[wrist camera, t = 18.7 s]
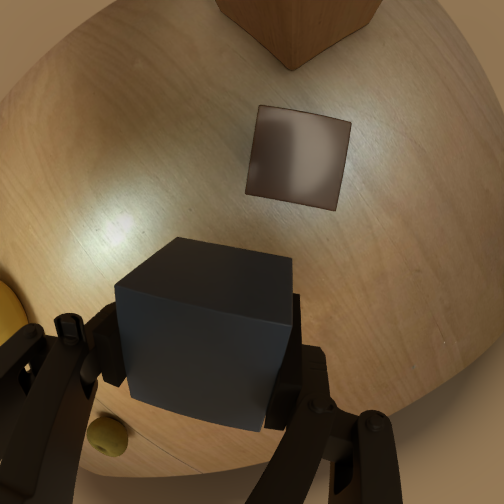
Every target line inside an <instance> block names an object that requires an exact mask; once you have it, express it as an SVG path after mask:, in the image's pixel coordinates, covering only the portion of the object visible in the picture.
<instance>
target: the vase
mask: <svg viewBox="0 0 504 504" xmlns="http://www.w3.org/2000/svg"><path fill="white" fill-rule="evenodd" d="M27 324H28V320H27V316H26V314H25V311H24V309H23V307H22V305H21V303H20V301H19V299H18V298H17V296H16V295H15V293H14V292H13V291H12V290H11V289H10V288H9V287H8V286H7V285H6V284H4V283H3V282H2V281H0V346H1V345H2V344H3V343H5V342H6V341H7V340H8V339H9V338H10V337H11V336H12V335H13V334H15V333H16V332H17V331H18V330H19V329H20V328H21V327H23V326H24V325H27Z"/></svg>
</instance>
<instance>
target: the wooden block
mask: <svg viewBox="0 0 504 504" xmlns="http://www.w3.org/2000/svg"><path fill="white" fill-rule="evenodd" d="M215 1H216V3H217V5H218V7H219V9H220V11H221V12H223V13H224V14H225V15H227V16H228V17H229V18H231V19H232V20H233V21H235V22H236V23H237V24H238V25H240V26H241V27H242V28H243V29H245V30H246V31H247V32H248V33H249V34H251V35H252V36H253V37H254V38H255V39H256V40H258V41H259V42H260V43H261V44H262V45H263V46H264V47H266V48H267V49H268V50H269V51H270V52H271V53H272V54H273V55H274V56H275V57H276V58H278V59H279V60H280V61H281V62H282V63H283V64H284V65H285V66H286V67H287V68H288V69H291V70H294V69H297V68H298V67H300V66H301V65H302V64H304V63H305V62H307V61H308V60H310V59H311V58H313V57H314V56H316V55H317V54H319V53H320V52H322V51H323V50H325V49H326V48H328V47H330V46H331V45H333V44H334V43H336V42H338V41H339V40H341V39H342V38H344V37H346V36H347V35H349V34H351V33H353V32H354V31H356V30H358V29H360V28H361V27H363V26H365V25H367V24H368V23H369V22H370V20H371V18H372V17H373V15H374V13H375V12H376V10H377V8H378V7H379V5H380V4H381V2H382V0H215Z"/></svg>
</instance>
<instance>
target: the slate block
mask: <svg viewBox="0 0 504 504" xmlns="http://www.w3.org/2000/svg"><path fill="white" fill-rule="evenodd" d="M114 288H115V300H116V310H117V319H118V326H119V333H120V340H121V347H122V353H123V359H124V364H125V370H126V375H127V381H128V386H129V390H130V395H131V397H132V398H134V399H136V400H139V401H142V402H144V403H147V404H150V405H153V406H156V407H159V408H162V409H165V410H168V411H171V412H174V413H178V414H181V415H184V416H188V417H191V418H195V419H199V420H203V421H207V422H211V423H215V424H219V425H224V426H228V427H233V428H238V429H243V430H249V431H254V432H260V430H261V427H262V424H263V421H264V418H265V415H266V412H267V409H268V406H269V403H270V399H271V396H272V393H273V390H274V387H275V384H276V380H277V377H278V374H279V371H280V367H281V365H282V361H283V358H284V355H285V351H286V348H287V344H288V341H289V337H290V334H291V330H292V326H293V270H292V258H289V257H284V256H278V255H273V254H267V253H262V252H257V251H251V250H246V249H241V248H235V247H230V246H225V245H219V244H214V243H208V242H203V241H198V240H192V239H187V238H181V237H176V238H175V239H174V240H172V241H171V242H170V243H168V244H167V245H165V246H164V247H163V248H161V249H160V250H159V251H157V252H156V253H155V254H153V255H152V256H151V257H149V258H148V259H147V260H145V261H144V262H143V263H142V264H140V265H139V266H138V267H136V268H135V269H134V270H133V271H131V272H130V273H129V274H127V275H126V276H125V277H124V278H122V279H121V280H120V281H118V282H117V283H116V284H115V285H114Z"/></svg>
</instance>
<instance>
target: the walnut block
mask: <svg viewBox="0 0 504 504" xmlns="http://www.w3.org/2000/svg"><path fill="white" fill-rule="evenodd" d="M351 125H352V123H351V122H348V121H344V120H340V119H336V118H332V117H327V116H323V115H318V114H313V113H308V112H303V111H297V110H291V109H285V108H279V107H272V106H265V105H259V107H258V113H257V119H256V126H255V132H254V138H253V144H252V151H251V157H250V163H249V170H248V176H247V183H246V189H245V194H246V195H252V196H258V197H263V198H269V199H275V200H280V201H285V202H291V203H296V204H301V205H306V206H311V207H316V208H321V209H326V210H330V211H336V207H337V203H338V198H339V193H340V188H341V183H342V178H343V172H344V167H345V161H346V156H347V150H348V144H349V138H350V131H351Z"/></svg>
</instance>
